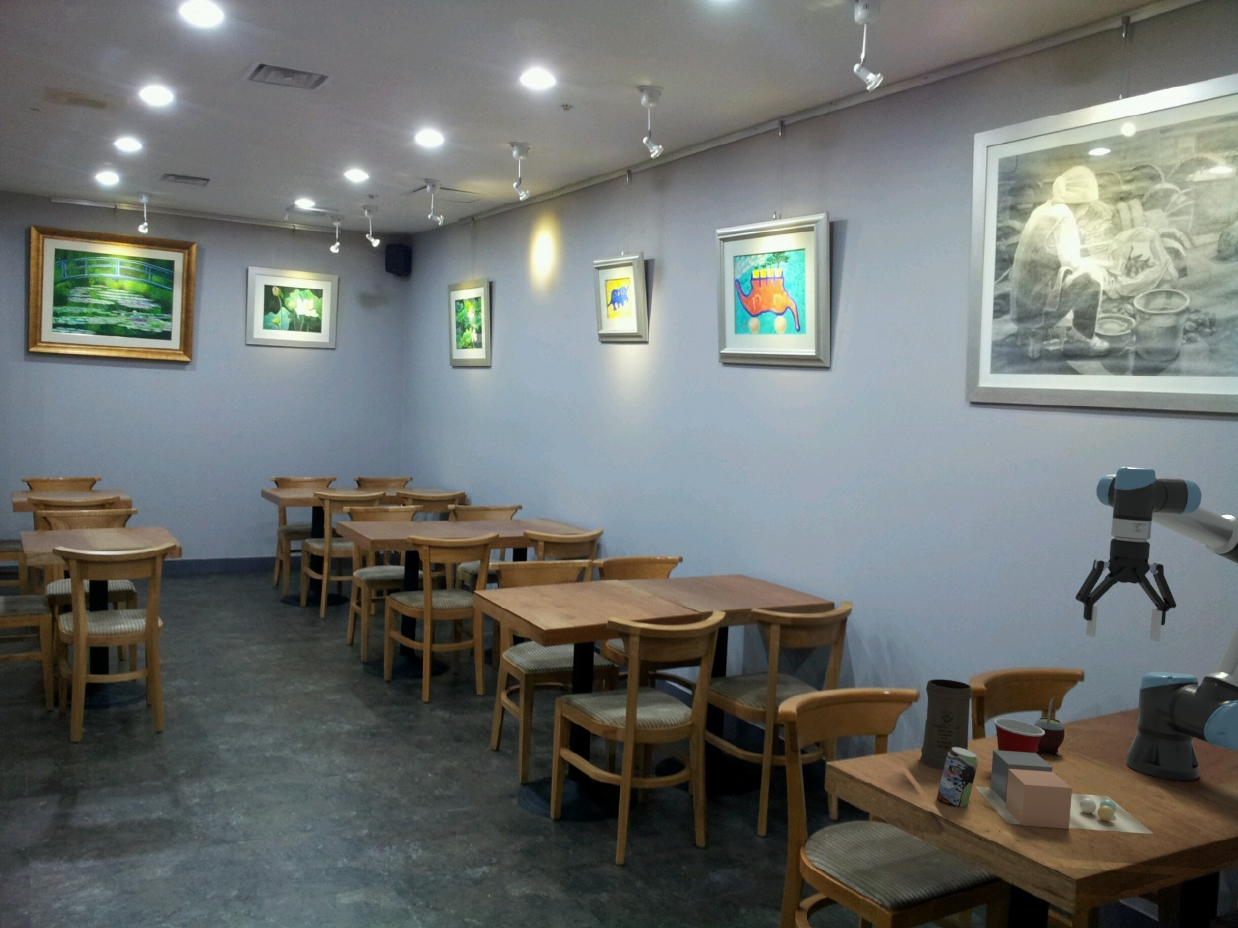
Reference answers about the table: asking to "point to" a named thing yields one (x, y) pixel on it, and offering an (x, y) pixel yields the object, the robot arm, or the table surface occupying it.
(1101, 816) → the marble amber
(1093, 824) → the cream cloth mat
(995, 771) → the gray cube
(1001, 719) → the plastic cup
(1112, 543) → the robot arm
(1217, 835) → the table surface
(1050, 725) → the mate gourd
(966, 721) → the beer stein
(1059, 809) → the salmon pink cube
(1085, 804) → the marble cream
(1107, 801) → the marble teal
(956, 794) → the beverage can
